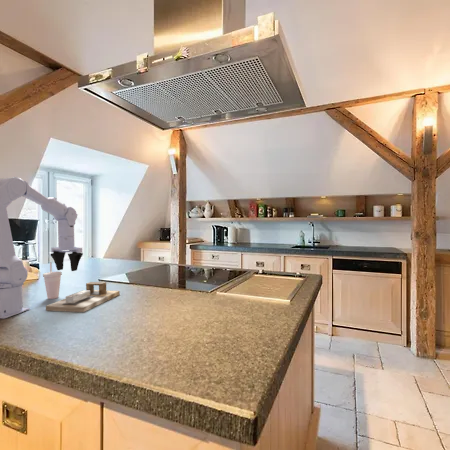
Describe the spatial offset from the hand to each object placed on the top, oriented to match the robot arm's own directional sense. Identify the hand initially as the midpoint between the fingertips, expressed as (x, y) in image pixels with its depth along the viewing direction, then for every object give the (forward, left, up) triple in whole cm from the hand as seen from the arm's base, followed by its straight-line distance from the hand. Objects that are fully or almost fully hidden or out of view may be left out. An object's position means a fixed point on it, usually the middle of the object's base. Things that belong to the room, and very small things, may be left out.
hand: (67, 270), depth 119 cm
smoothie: (-5, +2, -10) cm, 12 cm away
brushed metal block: (-13, -15, -8) cm, 21 cm away
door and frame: (-9, -15, -10) cm, 20 cm away
